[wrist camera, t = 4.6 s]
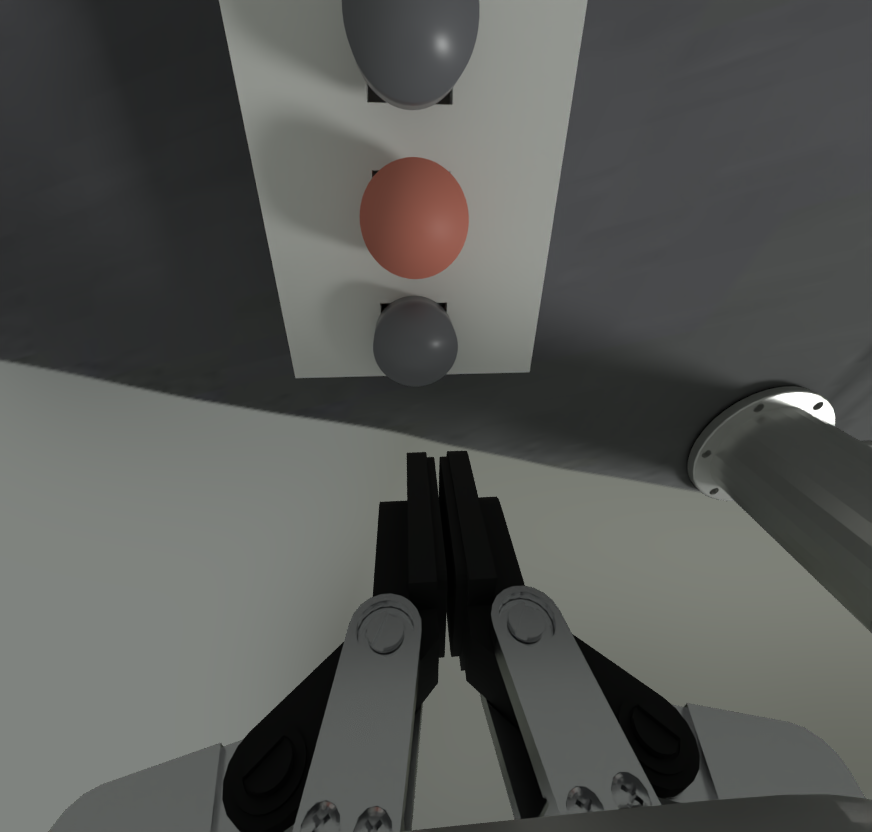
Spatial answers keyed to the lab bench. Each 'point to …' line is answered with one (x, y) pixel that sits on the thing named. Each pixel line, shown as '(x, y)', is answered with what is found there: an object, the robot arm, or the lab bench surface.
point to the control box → (394, 139)
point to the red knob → (414, 218)
